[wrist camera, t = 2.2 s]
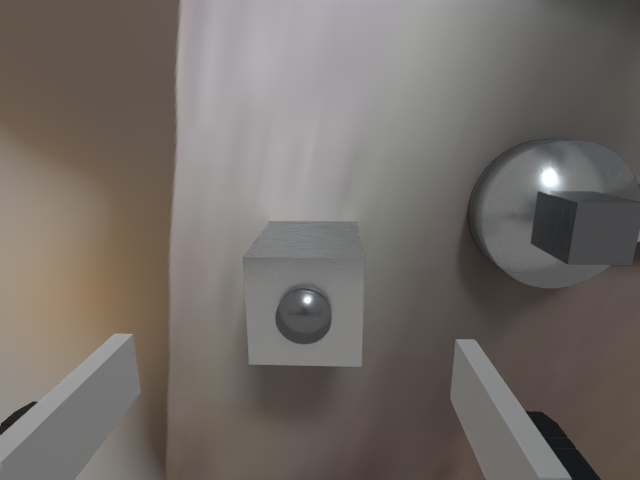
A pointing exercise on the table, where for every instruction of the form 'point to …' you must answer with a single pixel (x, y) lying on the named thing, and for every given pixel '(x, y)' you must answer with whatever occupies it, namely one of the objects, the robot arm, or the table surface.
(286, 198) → the table surface
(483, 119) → the table surface
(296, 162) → the table surface
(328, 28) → the table surface
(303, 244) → the grey block with knob
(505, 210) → the ratchet
